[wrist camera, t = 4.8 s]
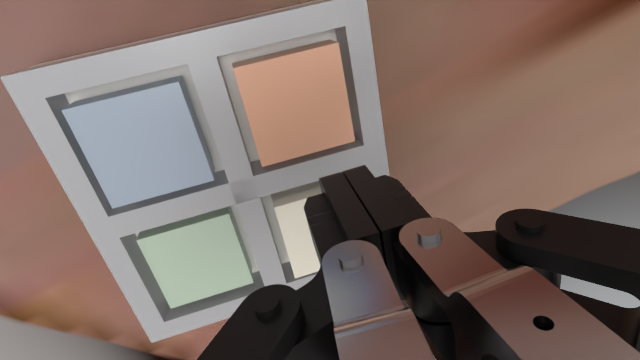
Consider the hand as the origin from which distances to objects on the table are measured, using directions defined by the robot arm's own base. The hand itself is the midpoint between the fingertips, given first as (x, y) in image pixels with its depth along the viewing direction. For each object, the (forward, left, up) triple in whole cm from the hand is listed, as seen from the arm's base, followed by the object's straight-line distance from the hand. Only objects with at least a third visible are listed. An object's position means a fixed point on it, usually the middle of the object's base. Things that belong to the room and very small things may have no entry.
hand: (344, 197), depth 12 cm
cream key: (0, +7, -9) cm, 12 cm away
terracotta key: (0, -1, -10) cm, 10 cm away
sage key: (+7, +7, -10) cm, 14 cm away
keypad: (+4, +3, -12) cm, 13 cm away
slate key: (+7, -1, -10) cm, 12 cm away
